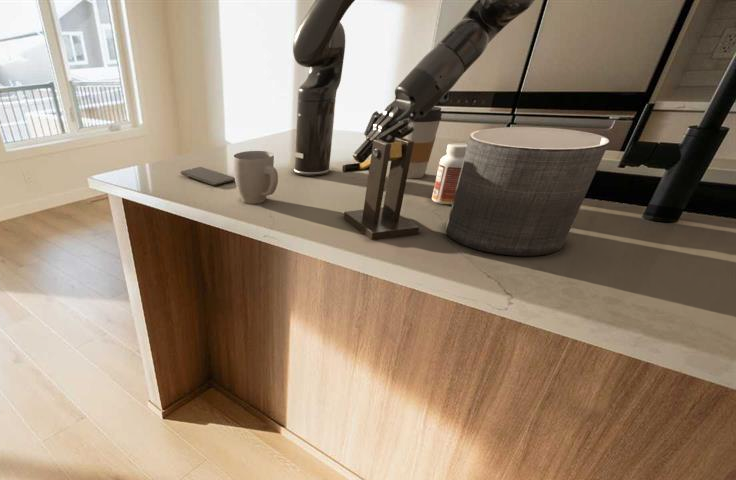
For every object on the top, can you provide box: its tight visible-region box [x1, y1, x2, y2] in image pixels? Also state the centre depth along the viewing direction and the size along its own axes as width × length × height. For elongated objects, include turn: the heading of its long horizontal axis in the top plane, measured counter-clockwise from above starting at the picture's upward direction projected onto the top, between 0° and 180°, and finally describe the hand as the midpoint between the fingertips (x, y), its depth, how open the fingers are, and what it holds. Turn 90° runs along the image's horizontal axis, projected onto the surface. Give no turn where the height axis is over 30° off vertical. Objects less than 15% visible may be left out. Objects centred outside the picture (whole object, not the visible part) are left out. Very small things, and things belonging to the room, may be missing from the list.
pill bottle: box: [431, 142, 468, 206], centre depth 87 cm, size 6×6×11 cm
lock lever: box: [341, 142, 402, 174], centre depth 78 cm, size 14×7×2 cm, turn 10°
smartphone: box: [180, 166, 235, 186], centre depth 114 cm, size 7×1×16 cm
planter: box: [445, 126, 610, 257], centre depth 69 cm, size 18×18×16 cm
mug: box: [232, 150, 279, 205], centre depth 93 cm, size 12×9×10 cm
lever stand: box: [343, 137, 421, 241], centre depth 76 cm, size 12×9×15 cm
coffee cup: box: [403, 106, 443, 179], centre depth 103 cm, size 8×8×15 cm
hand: (356, 159), depth 83 cm, fingers closed
